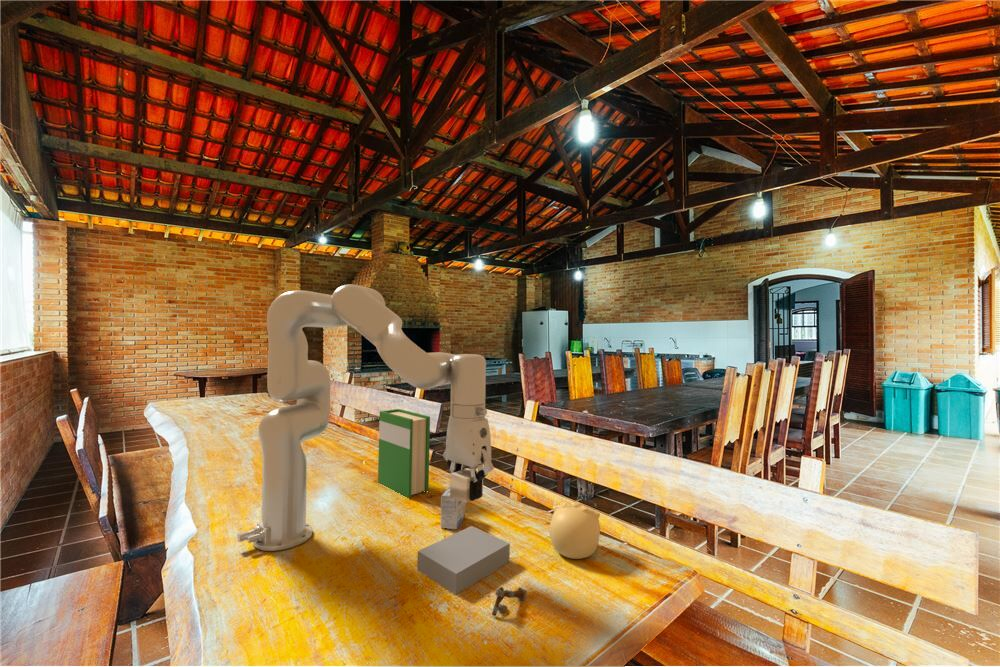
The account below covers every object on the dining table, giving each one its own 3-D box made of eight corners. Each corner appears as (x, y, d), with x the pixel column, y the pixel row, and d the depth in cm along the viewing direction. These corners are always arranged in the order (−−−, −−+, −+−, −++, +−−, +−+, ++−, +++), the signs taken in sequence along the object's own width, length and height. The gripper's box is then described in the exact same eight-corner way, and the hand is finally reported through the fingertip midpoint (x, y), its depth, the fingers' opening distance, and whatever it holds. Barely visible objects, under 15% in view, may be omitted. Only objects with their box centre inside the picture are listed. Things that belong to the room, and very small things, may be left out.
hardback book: (428, 492, 129) (430, 416, 129) (408, 499, 124) (410, 419, 124) (397, 478, 141) (398, 408, 141) (377, 483, 136) (379, 411, 136)
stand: (455, 594, 79) (456, 573, 79) (417, 570, 87) (417, 551, 87) (509, 561, 91) (509, 543, 91) (471, 542, 99) (471, 525, 99)
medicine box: (456, 530, 105) (457, 496, 105) (440, 528, 106) (440, 494, 106) (465, 517, 112) (466, 485, 112) (449, 515, 113) (450, 484, 113)
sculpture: (601, 543, 100) (602, 499, 100) (596, 569, 88) (597, 519, 88) (555, 535, 103) (555, 492, 103) (544, 559, 92) (545, 511, 92)
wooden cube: (466, 503, 85) (466, 479, 85) (450, 496, 89) (450, 473, 89) (482, 496, 89) (483, 473, 89) (466, 490, 92) (467, 468, 92)
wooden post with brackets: (486, 613, 73) (493, 585, 74) (513, 611, 78) (519, 585, 79) (493, 617, 71) (501, 589, 73) (520, 616, 77) (527, 589, 78)
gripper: (508, 414, 86) (507, 501, 86) (454, 404, 97) (453, 481, 97) (484, 419, 80) (482, 512, 80) (429, 408, 92) (427, 489, 92)
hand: (466, 494), depth 89 cm, fingers closed on wooden cube, 5 cm apart
